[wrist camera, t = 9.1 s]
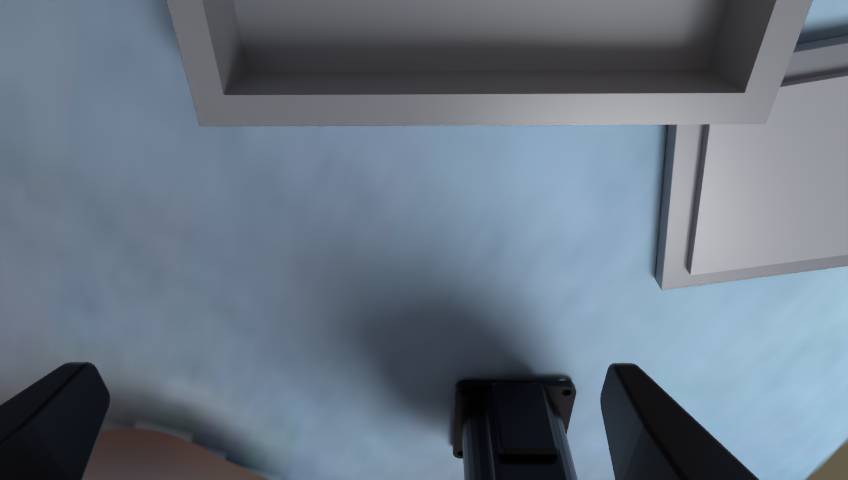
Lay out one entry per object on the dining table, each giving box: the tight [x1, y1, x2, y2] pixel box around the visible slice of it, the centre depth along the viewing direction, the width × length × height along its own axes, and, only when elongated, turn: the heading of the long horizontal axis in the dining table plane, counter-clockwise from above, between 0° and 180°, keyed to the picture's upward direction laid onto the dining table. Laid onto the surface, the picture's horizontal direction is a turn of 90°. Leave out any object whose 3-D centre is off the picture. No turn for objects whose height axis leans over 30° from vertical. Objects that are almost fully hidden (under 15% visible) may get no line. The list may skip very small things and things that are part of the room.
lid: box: [655, 35, 848, 290], centre depth 20 cm, size 10×12×1 cm
